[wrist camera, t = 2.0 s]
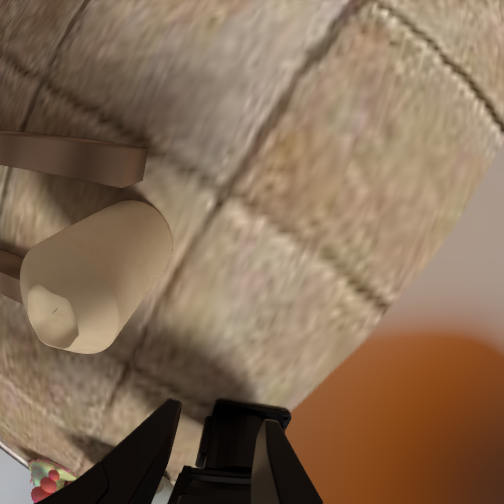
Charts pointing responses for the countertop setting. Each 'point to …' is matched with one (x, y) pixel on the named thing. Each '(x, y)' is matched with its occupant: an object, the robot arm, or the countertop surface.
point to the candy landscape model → (48, 478)
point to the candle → (94, 275)
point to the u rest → (64, 174)
